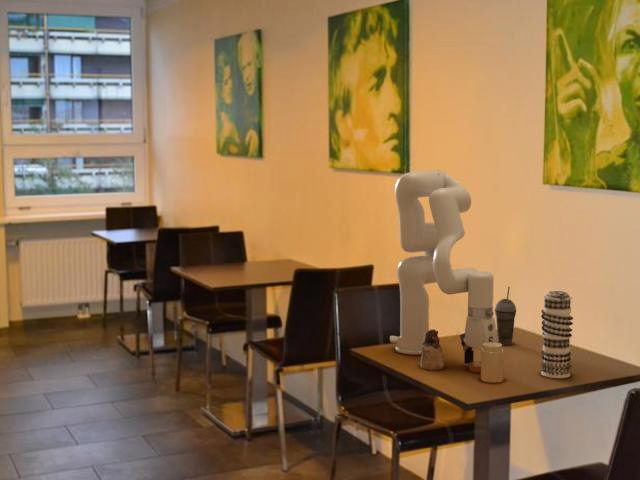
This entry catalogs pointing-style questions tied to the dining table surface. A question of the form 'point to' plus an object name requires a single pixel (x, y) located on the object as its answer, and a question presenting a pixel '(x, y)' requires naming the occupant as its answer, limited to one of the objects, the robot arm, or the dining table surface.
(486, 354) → the honey jar
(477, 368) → the jar lid
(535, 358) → the dining table surface
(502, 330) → the beverage cup
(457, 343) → the dining table surface
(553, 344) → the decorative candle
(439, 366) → the figurine
